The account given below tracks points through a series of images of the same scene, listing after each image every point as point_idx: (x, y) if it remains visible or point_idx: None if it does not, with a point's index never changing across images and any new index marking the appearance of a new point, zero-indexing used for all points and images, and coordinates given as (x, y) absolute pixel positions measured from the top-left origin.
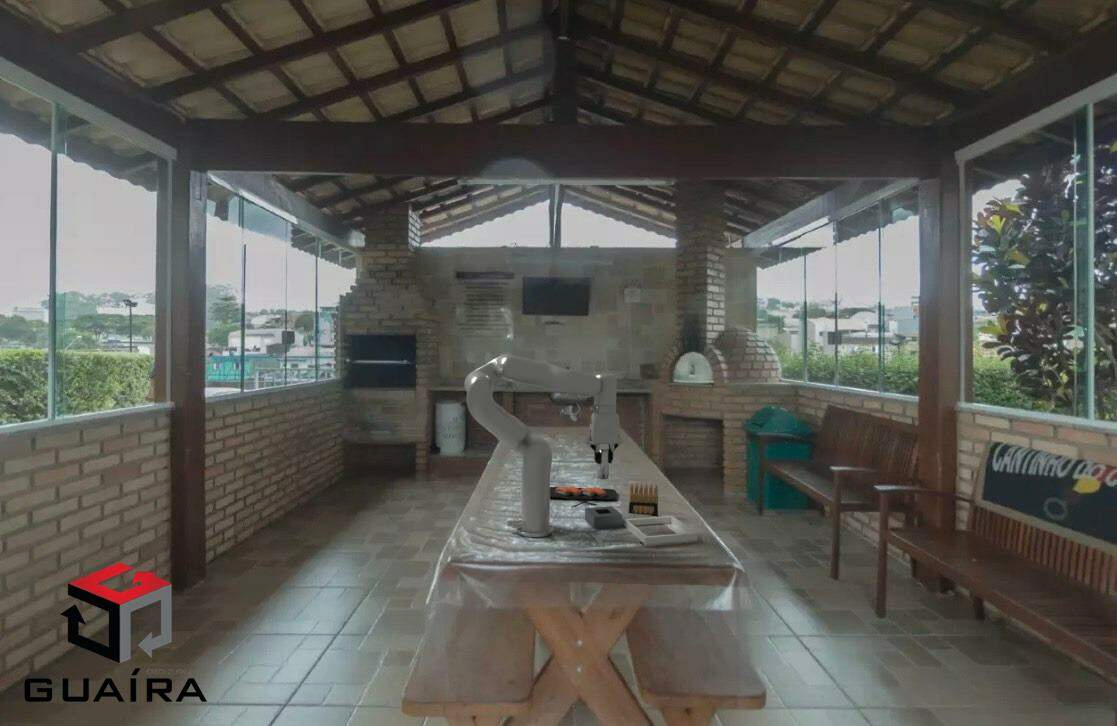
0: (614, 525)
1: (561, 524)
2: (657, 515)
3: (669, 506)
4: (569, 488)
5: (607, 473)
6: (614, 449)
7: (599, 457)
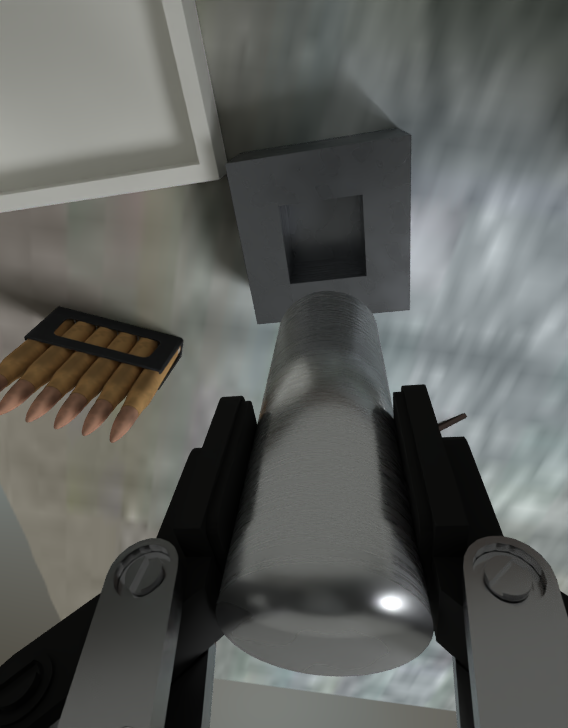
0: (279, 149)
1: (523, 263)
2: (55, 309)
3: (15, 416)
4: None
5: (292, 326)
6: (106, 583)
7: (428, 448)
